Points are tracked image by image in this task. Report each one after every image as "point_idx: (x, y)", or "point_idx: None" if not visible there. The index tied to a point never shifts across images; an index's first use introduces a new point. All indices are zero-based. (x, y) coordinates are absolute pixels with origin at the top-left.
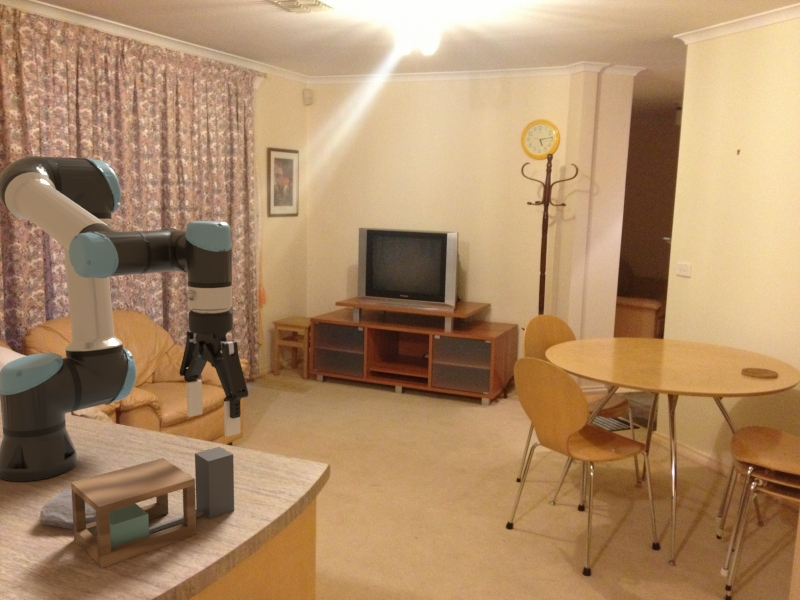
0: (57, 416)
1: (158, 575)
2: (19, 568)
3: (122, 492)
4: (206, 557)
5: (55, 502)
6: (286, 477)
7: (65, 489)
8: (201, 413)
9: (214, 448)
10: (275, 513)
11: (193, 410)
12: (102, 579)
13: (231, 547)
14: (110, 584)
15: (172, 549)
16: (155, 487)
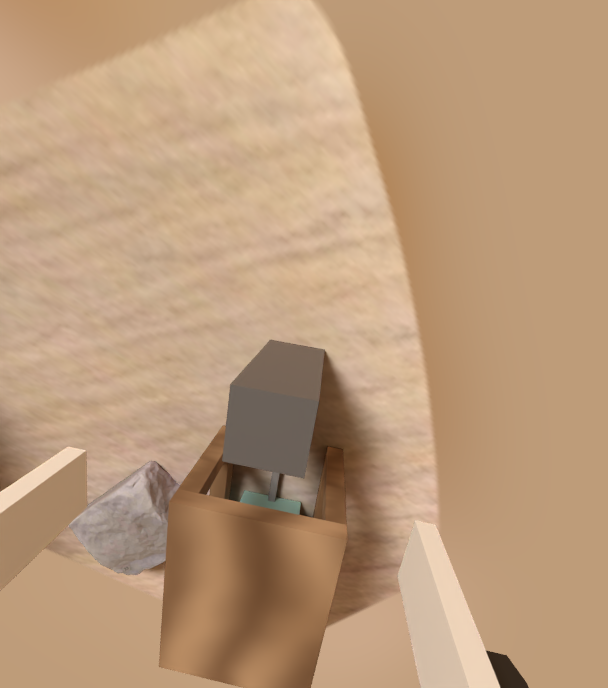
0: None
1: (396, 549)
2: None
3: (282, 652)
4: (417, 485)
5: (110, 558)
6: (285, 142)
7: (69, 524)
8: (82, 457)
9: (233, 404)
10: (404, 305)
11: (64, 510)
12: (340, 588)
13: (429, 444)
14: (360, 590)
15: (351, 497)
16: (315, 610)
